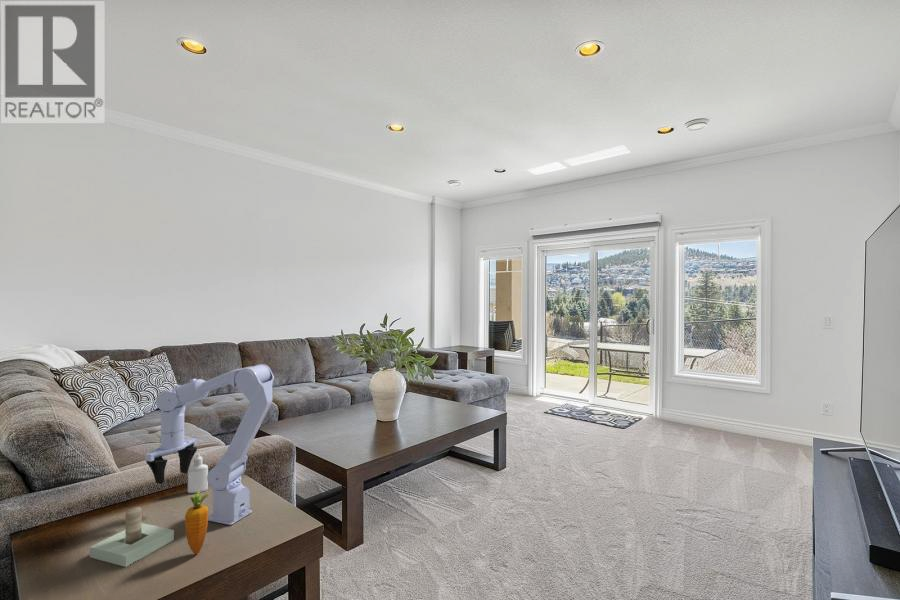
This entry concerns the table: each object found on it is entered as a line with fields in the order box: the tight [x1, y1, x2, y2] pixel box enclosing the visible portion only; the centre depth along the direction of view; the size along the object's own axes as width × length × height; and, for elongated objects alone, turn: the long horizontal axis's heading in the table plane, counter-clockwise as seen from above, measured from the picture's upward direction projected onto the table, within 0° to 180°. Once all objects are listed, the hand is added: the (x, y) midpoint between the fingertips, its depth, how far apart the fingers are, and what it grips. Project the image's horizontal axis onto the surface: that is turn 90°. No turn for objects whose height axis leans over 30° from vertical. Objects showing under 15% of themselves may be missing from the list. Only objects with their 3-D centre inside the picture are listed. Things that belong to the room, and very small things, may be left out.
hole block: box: [89, 522, 175, 568], centre depth 106 cm, size 12×12×2 cm
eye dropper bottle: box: [187, 453, 209, 494], centre depth 139 cm, size 4×6×12 cm
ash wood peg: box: [125, 506, 143, 545], centre depth 106 cm, size 3×3×10 cm
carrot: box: [184, 491, 209, 555], centre depth 104 cm, size 5×5×15 cm
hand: (172, 477), depth 124 cm, fingers open, 7 cm apart
